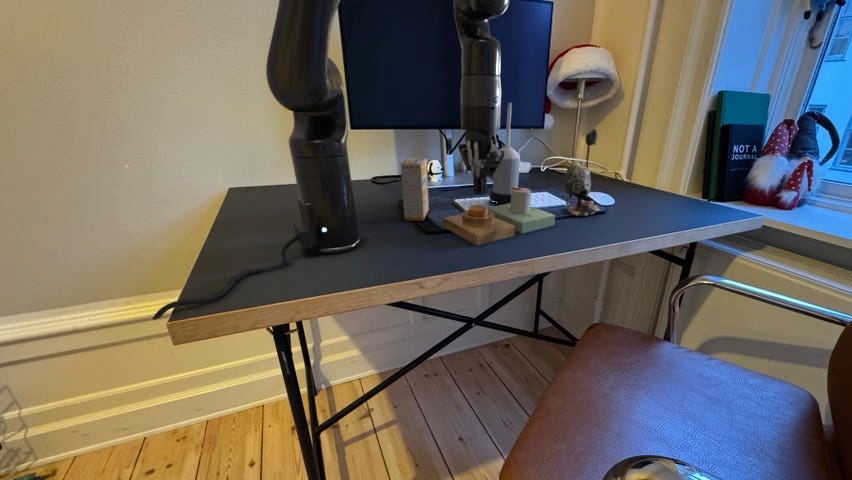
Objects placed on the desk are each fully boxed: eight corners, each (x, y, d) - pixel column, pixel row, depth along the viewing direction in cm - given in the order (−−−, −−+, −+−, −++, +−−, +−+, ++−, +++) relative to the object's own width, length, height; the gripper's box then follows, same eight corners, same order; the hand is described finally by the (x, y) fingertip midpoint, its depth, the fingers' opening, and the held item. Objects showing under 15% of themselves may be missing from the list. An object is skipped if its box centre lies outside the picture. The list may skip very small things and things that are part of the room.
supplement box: (424, 221, 86) (421, 163, 80) (404, 220, 86) (399, 163, 80) (429, 210, 93) (427, 157, 87) (410, 210, 93) (407, 156, 87)
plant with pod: (552, 209, 96) (561, 128, 87) (588, 206, 99) (601, 127, 90) (569, 219, 89) (580, 131, 80) (607, 215, 92) (623, 130, 83)
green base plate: (521, 233, 79) (522, 222, 78) (485, 217, 89) (486, 207, 87) (554, 225, 85) (555, 214, 83) (517, 211, 94) (517, 201, 93)
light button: (476, 219, 76) (476, 211, 75) (465, 214, 79) (465, 206, 78) (491, 216, 78) (491, 208, 77) (480, 211, 81) (480, 204, 80)
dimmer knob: (531, 209, 87) (533, 187, 84) (527, 215, 83) (528, 191, 81) (513, 207, 88) (514, 185, 86) (508, 212, 84) (509, 189, 82)
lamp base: (476, 245, 73) (476, 226, 71) (443, 227, 82) (442, 209, 80) (514, 235, 78) (515, 217, 76) (479, 219, 88) (479, 203, 86)
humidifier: (522, 200, 103) (529, 103, 92) (515, 208, 96) (522, 104, 85) (494, 197, 105) (498, 102, 94) (486, 205, 98) (488, 102, 87)
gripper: (445, 102, 71) (448, 190, 79) (485, 104, 62) (483, 204, 70) (476, 101, 75) (476, 185, 83) (519, 104, 66) (514, 198, 74)
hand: (479, 194), depth 76 cm, fingers closed
